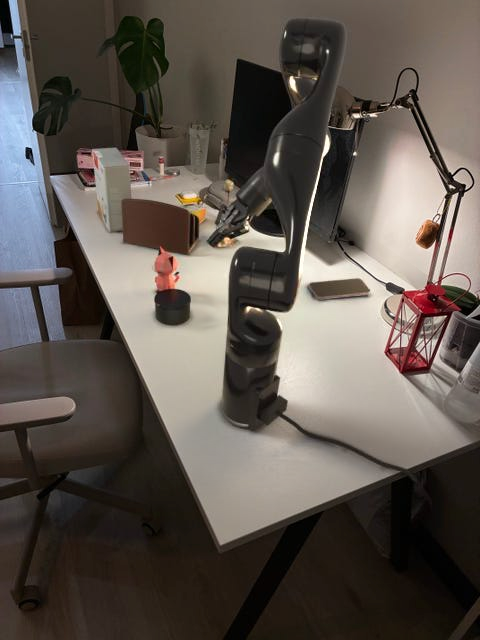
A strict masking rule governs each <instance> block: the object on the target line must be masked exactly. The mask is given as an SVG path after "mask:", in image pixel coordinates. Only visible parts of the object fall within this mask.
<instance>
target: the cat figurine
mask: <svg viewBox="0 0 480 640" xmlns="http://www.w3.org/2000/svg"><path fill="white" fill-rule="evenodd" d="M153 265H154V266H153V269H154V272H155V273H156V274H157V276H155V277H154V283H155V284H156V286H155V287H156V288H157V289H156V291H155V294H157V293H158V292H160V291H162V290H165V289H175V285H176V283H177V282H179V279H180V276H179V274H180V272H179V271H176V270H177V269H178V267H179V262H178V261H177V259H176V257H175V256H174V255H173V254H171V253H167V252H166V251H165V250H163V249H162V248H161V247H160V246H159V249H158V253H157V256H156V257H155V261H154V264H153ZM174 272H175V273H174ZM173 273H174V274H173ZM173 276H174V277H175V279H174V277H173Z"/></svg>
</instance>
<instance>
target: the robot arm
mask: <svg viewBox="0 0 480 640" xmlns="http://www.w3.org/2000/svg"><path fill="white" fill-rule="evenodd" d="M282 28H283V29H282V32H281V35H280V43H279V50H278V51H279V52H278V56H279V57H278V59H279V60H278V61H279V67H280V72H281V75H282V79H283V82H284V86H285V88H286V92H287V94H288V97H289V100H290V104H291V110H290V111H289V112H288V113H287V114H286V115H285V116H284V117H282V119H281V120H280V121H279V122H278V123H277V125H276V126H275V127H274V129H273V130H272V132H271V134H270V136H269V139H268V143H267V148H266V152H265V156H264V161H263V165H262V166H261V167H260V168H259V169H258V170H256V171H255V172H254V174H252V176H250V178H249V179H247V181H246V182H245V183H244V184H243V185H242V186H241V187H240V188H239V190H238V191H237V192H236V193H235V197H236V199H235V200H234V201H232V202H231V203H229V204H228V206H227V205H225V204H224V203H222V204H221V205H220V207H219V210H218V212H217V216H216V219H215V220H214V225H215V230H214V231H213V232H212V233H211V234H210V235H209V236H208V238H207V239H206V243H207V244H208V245H209V246H210V247H211V248H212V249H215V248H217V247H216V246H217V245H218V244H219V243H220V242H221V241H222V240H223V239H224V238H229V239H233V238H234V239H236V238H238V237H241V236H243V235H246V234H248V233H249V232H250V231H251V230H250V228H249V223H250V222H251V221H252V219H253V217H254V216H255V217H260V215H261V214H262V213H263V212H264V211H265V210H266V209H267V208H268V207H269V205H271V203H272V204H273V207H274V209H275V211H276V213H277V216H278V219H279V222H280V225H281V230H282V232H283V237H284V244H285V245H284V246H285V249H284V251H278V250H273V249H266V248H260V247H255V246H247V245H243V246H240V247H239V248H237V249H236V250H235V252H234V254H233V255H232V258H231V260H230V265H229V271H228V283H227V284H228V285H227V289H228V290H227V291H228V292H227V294H228V295H227V303H228V304H227V322H226V323H227V325H226V327H227V328H226V340H225V351H224V362H223V363H224V364H223V365H224V366H223V379H222V391H221V393H222V394H221V401H220V413H221V415H222V417H223V418H224V419H225V420H226V422H228V423H229V424H231V425H233V426H235V427H237V428H242V429H243V428H244V429H249V430H251V431H252V432H254V431H256V430H257V429H258V428H260V427H261V426H262V425H265V426H269V425H270V424H272V422H274V421H275V420H277V419H278V417H279V418H281V419H282V420H284V421H285V422H287V423H289V424H290V425H291V426H293V427H294V428H295V429H296V430H297V431H299V433H300V434H301V433H302V434H303V435H304V436H307V437H309V438H312V439H315V440H319V441H322V442H326V443H330V444H334V445H337V446H339V447H342V448H344V449H347V450H349V451H350V452H351V451H352V452H354V453H355V454H357V455H359V456H361V457H363V458H365V459H367V460H369V461H371V462H373V463H375V464H377V465H379V466H382V467H384V468H387V469H390V470H394V471H398V472H400V473H403V474H404V475H406V476H408V477H409V478H410V479H411V481H412V482H414V483H418V482H419V481H418V480H419V479H417V477H416V475H415V474H414V473H412V472H411V471H410V470H409V469H406V468H405V467H402V466H399V465H397V464H396V465H395V464H392V463H388V462H385V461H383V460H380V459H378V458H376V457H374V456H372V455H370V454H368V453H366V452H364V451H363V450H360V449H358V448H356V447H354V446H352V445H350V444H348V443H347V442H346V443H345V442H343V441H340V440H337V439H334V438H331V437H326V436H323V435H319V434H316V433H313V432H311V431H308V430H306V429H305V428H303V427H302V426H301V425H300V424H298V423H297V422H296V421H294V420H293V419H291V418H290V417H288V416H287V415H285V414H284V413H285V412H286V411H287V407H288V402H289V400H288V399H287V398H285V397H283V396H281V394H279V389H280V382H281V376H280V375H278V374H277V370H278V365H279V364H278V363H279V357H280V353H281V346H282V339H283V331H284V330H283V326H282V325H283V324H282V323H281V321H280V320H279V318H278V317H277V316H275V315H274V314H273V313H281V314H287V313H290V312H291V311H292V310H293V308H294V307H295V304H296V302H297V299H298V295H299V290H300V286H301V280H302V275H303V268H304V267H303V266H304V260H305V259H304V258H305V251H306V246H307V238H308V231H309V224H310V219H311V218H310V217H311V213H312V209H313V204H314V200H315V195H316V192H317V186H318V183H319V179H320V173H321V169H322V164H323V159H324V157H325V156H327V154H328V152H329V150H330V148H331V145H332V136H331V132H330V128H329V122H330V116H331V112H332V107H333V103H334V99H335V95H336V91H337V88H338V84H339V80H340V76H341V72H342V69H343V65H344V61H345V57H346V51H347V43H348V31H347V28H346V25H345V24H344V22H341V21H339V20H334V19H329V18H328V19H327V18H318V17H317V18H316V17H306V16H305V17H304V16H302V17H301V16H297V17H296V16H295V17H291V18H289V19H288V20H286V22H285V23H284V25H283V27H282ZM314 80H315V82H314ZM231 233H232V234H231ZM271 312H273V313H271ZM278 394H279V395H278Z"/></svg>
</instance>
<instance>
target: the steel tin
mask: <svg viewBox="0 0 480 640" xmlns="http://www.w3.org/2000/svg"><path fill="white" fill-rule="evenodd" d="M153 298H154V299H153V301H154V314H155V315H154V316H155V319H156V321H158V323H160V324H162V325H166V326H181V325H184V324H185V323H187V322H188V321H189V320H190V317H191V302H192V296H191V295H190V293H189V292H187V291H186V290H184V289H180V288H174V289H165V290H162V291H160V292H158V293H155V295H154V297H153Z"/></svg>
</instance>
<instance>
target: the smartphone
mask: <svg viewBox="0 0 480 640" xmlns="http://www.w3.org/2000/svg"><path fill="white" fill-rule="evenodd" d="M308 288H309V289H310V291H311V292H312V294H313V296H314V297H315V298H316V299H317V300H327V299H340V298H350V297H359V296H368V295H370V294H371V289H370V288H369V286H368V285H367V284H366V283H365V281H364V280H363V279H362V278H357V277H356V278H346V279H345V278H344V279H335V280H321V281H312V282H309V284H308Z"/></svg>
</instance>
